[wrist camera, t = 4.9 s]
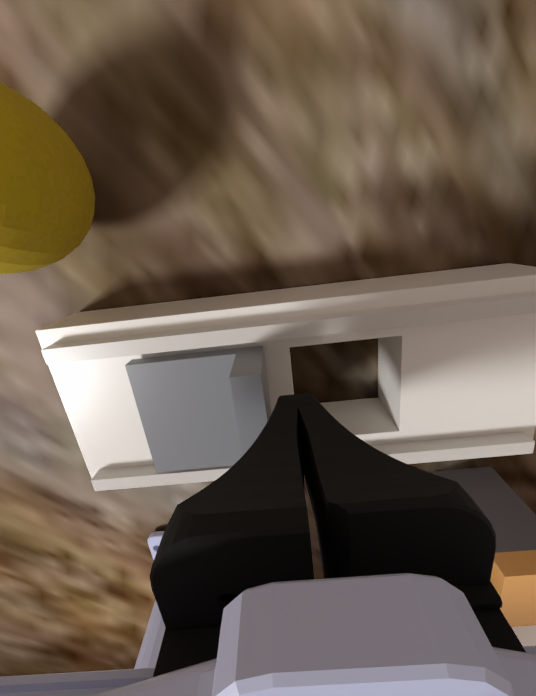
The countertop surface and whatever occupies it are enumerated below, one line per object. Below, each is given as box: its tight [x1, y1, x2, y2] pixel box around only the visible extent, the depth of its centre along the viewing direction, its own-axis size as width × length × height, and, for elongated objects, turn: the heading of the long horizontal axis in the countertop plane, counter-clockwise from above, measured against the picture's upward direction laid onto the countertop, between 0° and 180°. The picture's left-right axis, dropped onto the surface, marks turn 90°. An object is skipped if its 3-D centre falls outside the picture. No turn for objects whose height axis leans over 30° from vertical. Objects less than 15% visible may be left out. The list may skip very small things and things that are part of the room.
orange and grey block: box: [434, 466, 536, 627], centre depth 16 cm, size 3×3×6 cm
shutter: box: [125, 346, 272, 472], centre depth 12 cm, size 5×5×3 cm
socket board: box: [35, 263, 536, 491], centre depth 15 cm, size 20×8×4 cm, turn 97°
